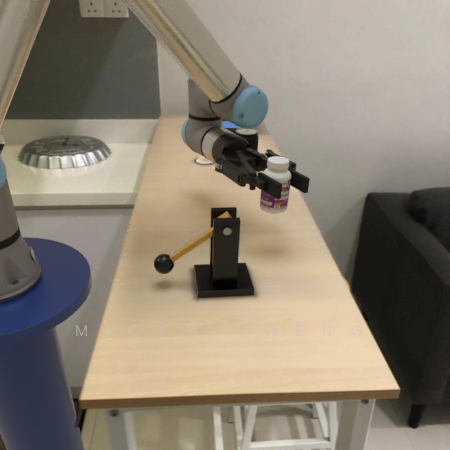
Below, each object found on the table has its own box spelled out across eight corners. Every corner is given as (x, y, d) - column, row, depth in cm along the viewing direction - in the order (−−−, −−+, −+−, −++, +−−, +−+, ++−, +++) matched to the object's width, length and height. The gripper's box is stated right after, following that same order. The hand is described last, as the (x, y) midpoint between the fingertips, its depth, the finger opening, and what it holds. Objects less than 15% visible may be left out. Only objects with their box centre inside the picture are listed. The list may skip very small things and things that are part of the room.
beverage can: (229, 176, 129) (231, 132, 122) (236, 168, 134) (238, 125, 127) (252, 179, 127) (255, 135, 120) (258, 171, 132) (261, 128, 125)
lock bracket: (197, 297, 81) (197, 226, 73) (193, 270, 89) (193, 203, 81) (253, 294, 83) (259, 224, 75) (245, 268, 90) (250, 201, 82)
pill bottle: (277, 217, 87) (283, 166, 81) (254, 209, 89) (257, 159, 84) (292, 208, 90) (298, 159, 85) (269, 200, 93) (273, 152, 87)
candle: (197, 164, 136) (197, 122, 129) (194, 158, 140) (194, 116, 133) (215, 163, 137) (216, 121, 130) (212, 157, 141) (213, 116, 134)
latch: (162, 281, 82) (149, 267, 80) (162, 270, 85) (149, 257, 83) (239, 231, 78) (227, 215, 76) (235, 221, 81) (224, 206, 79)
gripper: (261, 161, 105) (329, 199, 89) (188, 174, 97) (249, 218, 81) (264, 127, 101) (336, 160, 85) (188, 138, 93) (251, 177, 77)
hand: (293, 188), depth 83 cm, fingers closed on pill bottle, 5 cm apart
